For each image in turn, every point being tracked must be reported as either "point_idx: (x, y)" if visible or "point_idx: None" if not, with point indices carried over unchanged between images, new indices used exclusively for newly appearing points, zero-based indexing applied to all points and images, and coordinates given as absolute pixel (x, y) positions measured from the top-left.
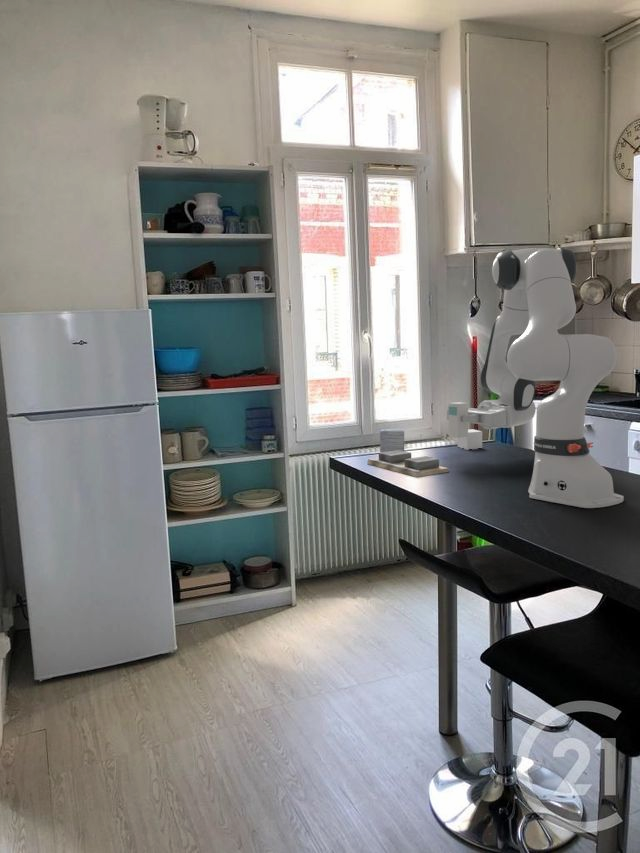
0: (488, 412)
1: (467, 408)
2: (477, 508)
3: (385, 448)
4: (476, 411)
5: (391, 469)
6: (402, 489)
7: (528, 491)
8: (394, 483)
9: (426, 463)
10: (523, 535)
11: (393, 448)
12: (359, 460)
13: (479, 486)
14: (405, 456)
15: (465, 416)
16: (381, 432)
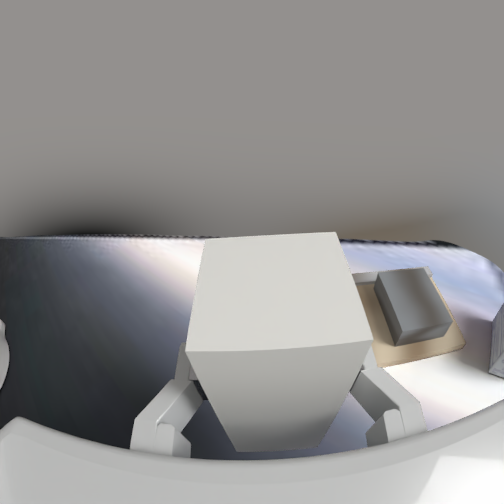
0: (39, 453)
1: (201, 377)
2: (49, 255)
3: (502, 315)
4: (168, 476)
5: None
6: (177, 236)
7: (7, 344)
8: None
9: None
10: (8, 241)
11: (502, 332)
12: (462, 275)
13: (82, 329)
14: (393, 318)
15: (180, 352)
16: None
